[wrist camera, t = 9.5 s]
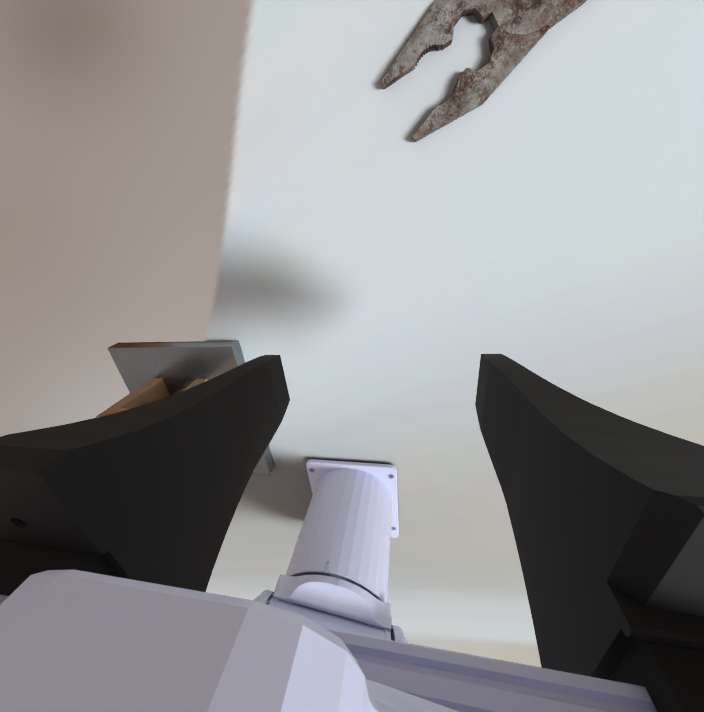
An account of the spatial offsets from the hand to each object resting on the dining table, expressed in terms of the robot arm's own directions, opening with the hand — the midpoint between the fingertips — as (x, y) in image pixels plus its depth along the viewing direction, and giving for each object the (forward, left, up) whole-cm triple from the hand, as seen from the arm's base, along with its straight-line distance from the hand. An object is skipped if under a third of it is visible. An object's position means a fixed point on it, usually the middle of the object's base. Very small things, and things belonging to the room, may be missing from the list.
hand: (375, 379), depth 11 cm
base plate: (-9, +17, -9) cm, 21 cm away
